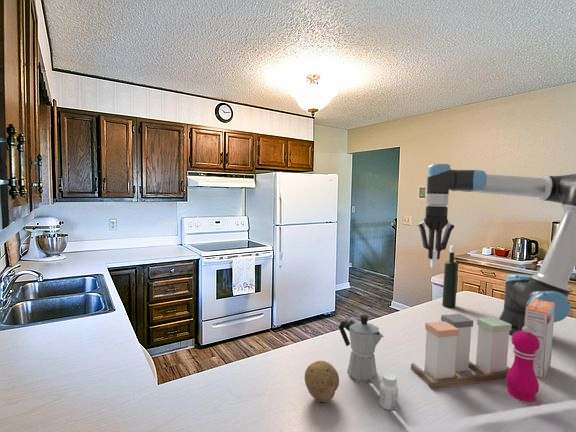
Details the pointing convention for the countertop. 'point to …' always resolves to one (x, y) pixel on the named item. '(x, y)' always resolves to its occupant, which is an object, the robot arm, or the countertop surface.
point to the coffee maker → (361, 348)
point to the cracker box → (541, 332)
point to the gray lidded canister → (461, 339)
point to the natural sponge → (321, 380)
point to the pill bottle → (388, 391)
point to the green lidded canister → (492, 344)
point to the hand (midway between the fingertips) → (433, 267)
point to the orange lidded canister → (440, 350)
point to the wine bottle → (450, 281)
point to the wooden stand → (460, 377)
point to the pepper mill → (523, 366)
